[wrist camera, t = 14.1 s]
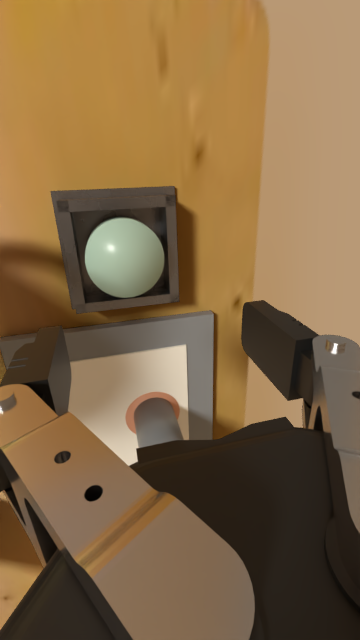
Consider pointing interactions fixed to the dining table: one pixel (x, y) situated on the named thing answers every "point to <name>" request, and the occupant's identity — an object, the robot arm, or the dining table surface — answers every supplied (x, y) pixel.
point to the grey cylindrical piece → (156, 422)
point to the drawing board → (137, 374)
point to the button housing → (101, 204)
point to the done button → (124, 257)
